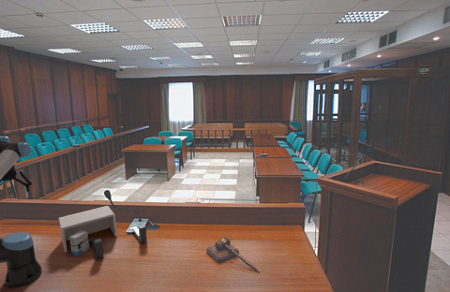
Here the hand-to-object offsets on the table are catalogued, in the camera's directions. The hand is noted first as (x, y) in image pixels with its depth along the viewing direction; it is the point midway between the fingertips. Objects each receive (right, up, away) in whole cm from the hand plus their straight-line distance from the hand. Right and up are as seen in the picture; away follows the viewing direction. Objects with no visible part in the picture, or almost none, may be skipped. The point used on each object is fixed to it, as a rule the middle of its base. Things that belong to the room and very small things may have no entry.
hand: (12, 200), depth 146 cm
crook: (+40, -33, +7) cm, 52 cm away
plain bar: (+64, -30, +24) cm, 75 cm away
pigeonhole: (+32, -30, +23) cm, 50 cm away
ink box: (+34, -33, +9) cm, 49 cm away
